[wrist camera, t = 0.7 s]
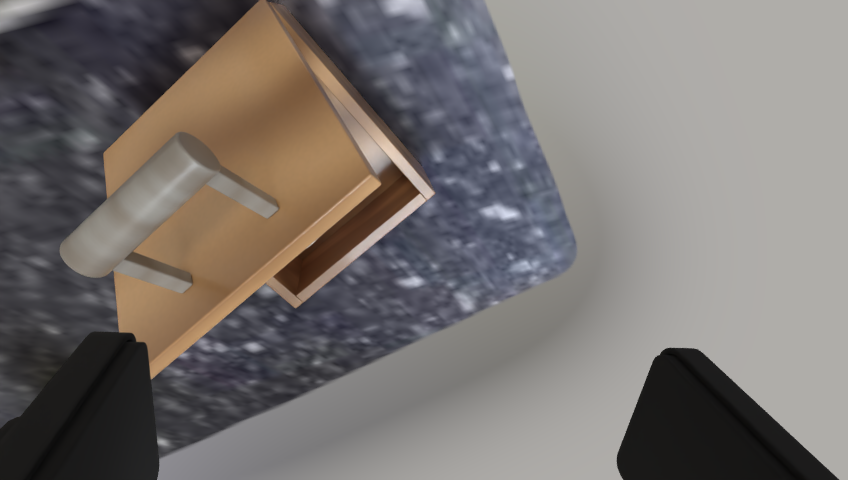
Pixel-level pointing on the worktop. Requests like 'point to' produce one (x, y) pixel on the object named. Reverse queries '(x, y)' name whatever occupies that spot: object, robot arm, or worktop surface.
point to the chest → (377, 211)
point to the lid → (219, 187)
